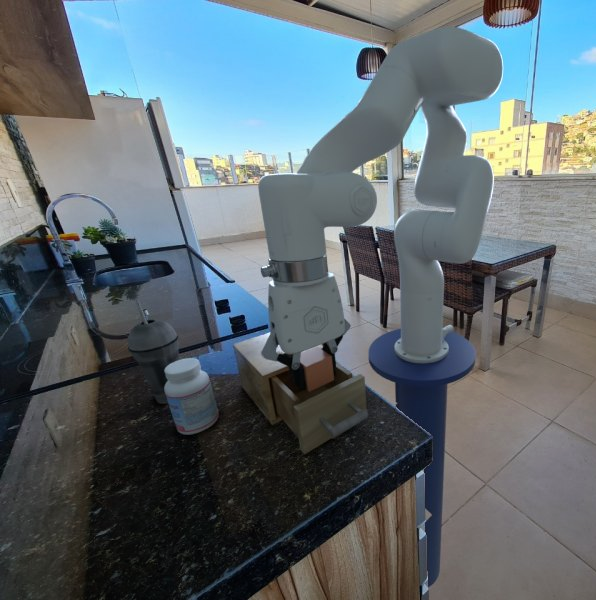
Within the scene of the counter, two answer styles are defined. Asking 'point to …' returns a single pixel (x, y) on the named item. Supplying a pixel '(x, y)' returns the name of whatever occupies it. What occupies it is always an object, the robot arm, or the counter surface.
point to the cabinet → (259, 373)
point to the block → (316, 368)
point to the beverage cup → (154, 351)
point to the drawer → (320, 406)
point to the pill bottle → (190, 396)
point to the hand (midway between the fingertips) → (314, 378)
